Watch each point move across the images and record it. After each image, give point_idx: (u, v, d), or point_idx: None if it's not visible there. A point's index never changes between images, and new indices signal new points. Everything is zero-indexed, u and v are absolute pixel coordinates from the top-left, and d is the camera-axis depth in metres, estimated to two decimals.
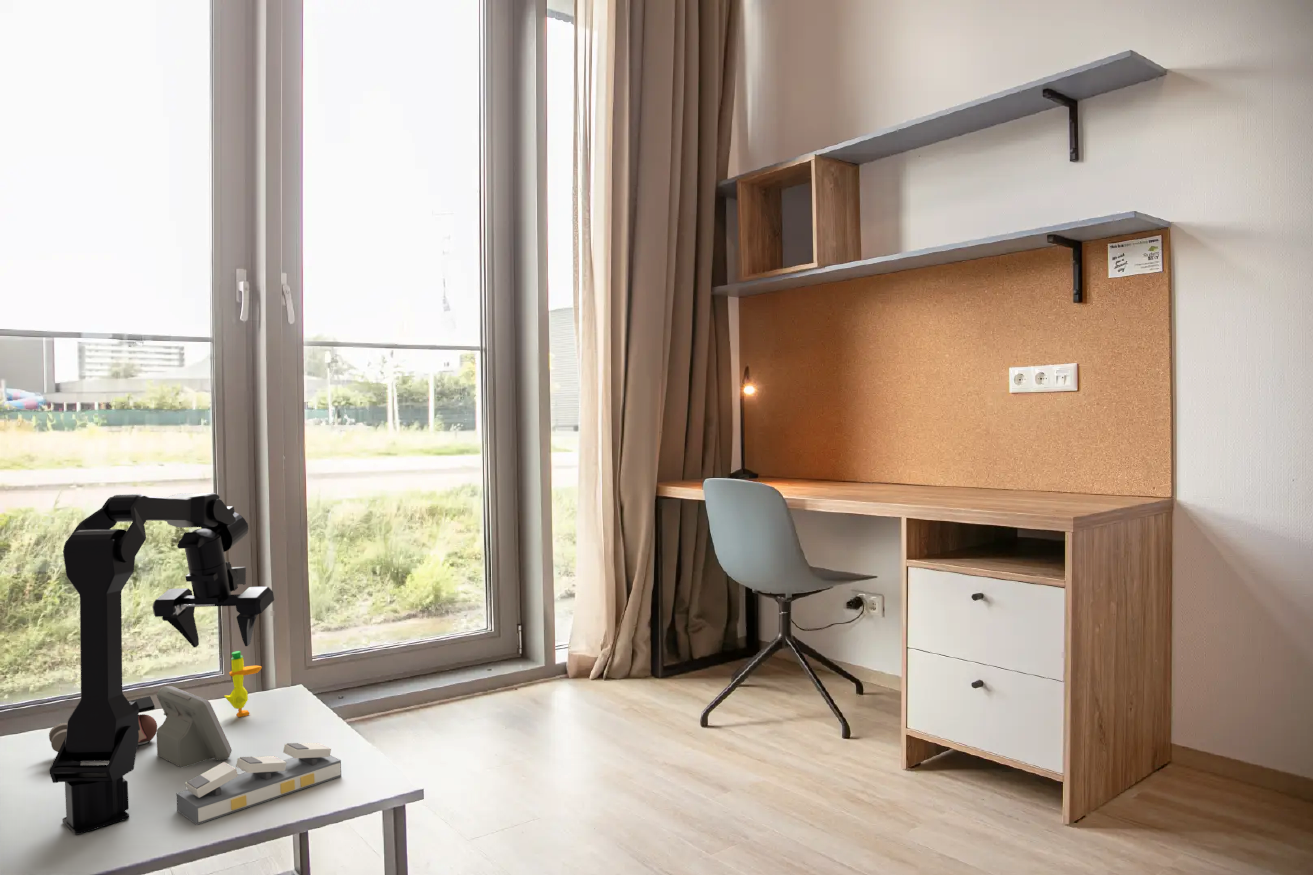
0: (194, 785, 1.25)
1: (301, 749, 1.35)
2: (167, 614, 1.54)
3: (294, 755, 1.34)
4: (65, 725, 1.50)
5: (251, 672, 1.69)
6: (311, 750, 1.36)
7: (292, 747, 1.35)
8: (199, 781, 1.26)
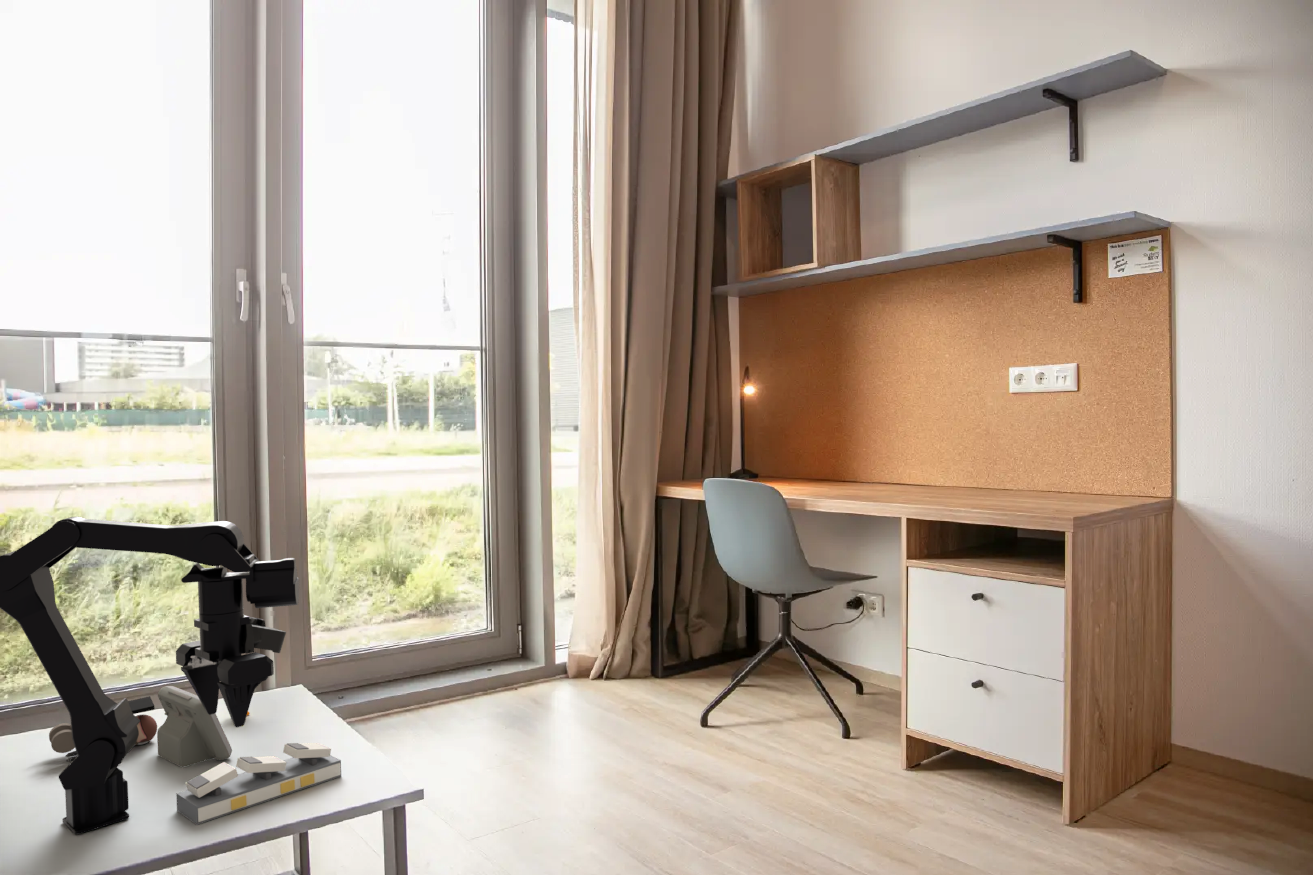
0: (194, 785, 1.25)
1: (301, 749, 1.35)
2: (182, 663, 1.31)
3: (294, 755, 1.34)
4: (65, 725, 1.50)
5: None
6: (311, 750, 1.36)
7: (292, 747, 1.35)
8: (199, 781, 1.26)
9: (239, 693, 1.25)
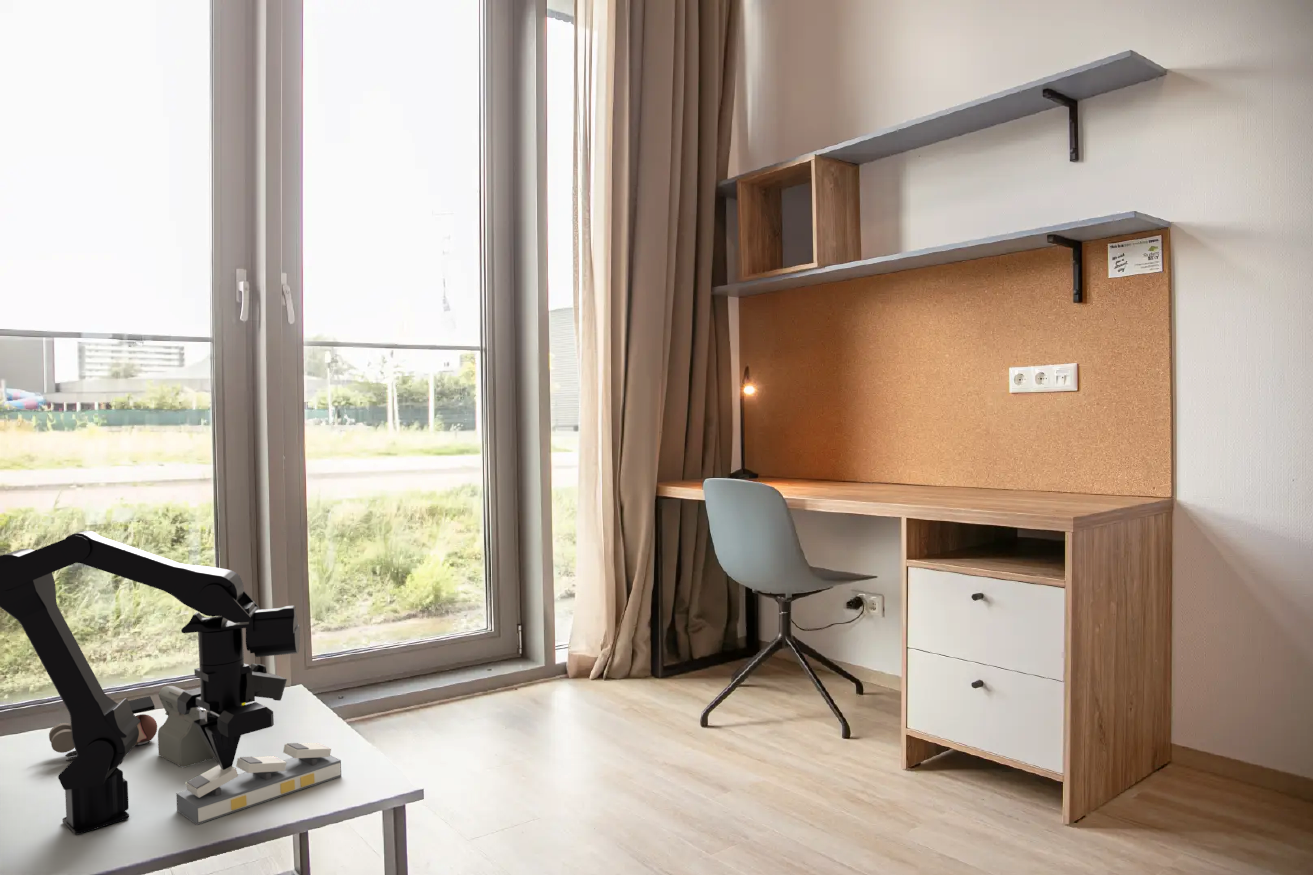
0: (194, 785, 1.25)
1: (301, 749, 1.35)
2: (183, 711, 1.31)
3: (294, 755, 1.34)
4: (65, 725, 1.50)
5: None
6: (311, 750, 1.36)
7: (292, 747, 1.35)
8: (199, 781, 1.26)
9: (226, 737, 1.27)
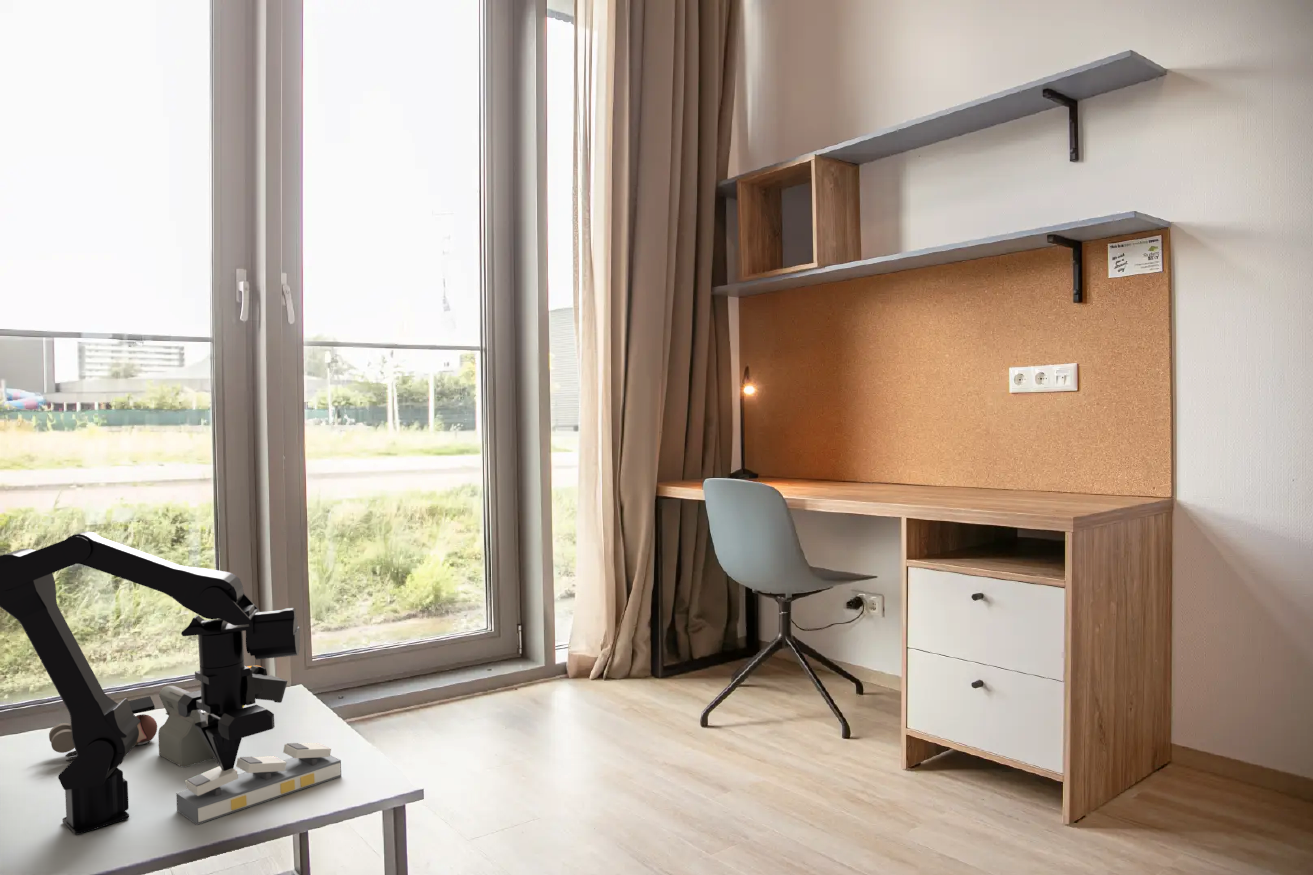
0: (194, 783, 1.25)
1: (301, 749, 1.35)
2: (184, 714, 1.31)
3: (294, 755, 1.34)
4: (65, 725, 1.50)
5: None
6: (311, 750, 1.36)
7: (292, 747, 1.35)
8: (199, 779, 1.26)
9: (227, 739, 1.27)
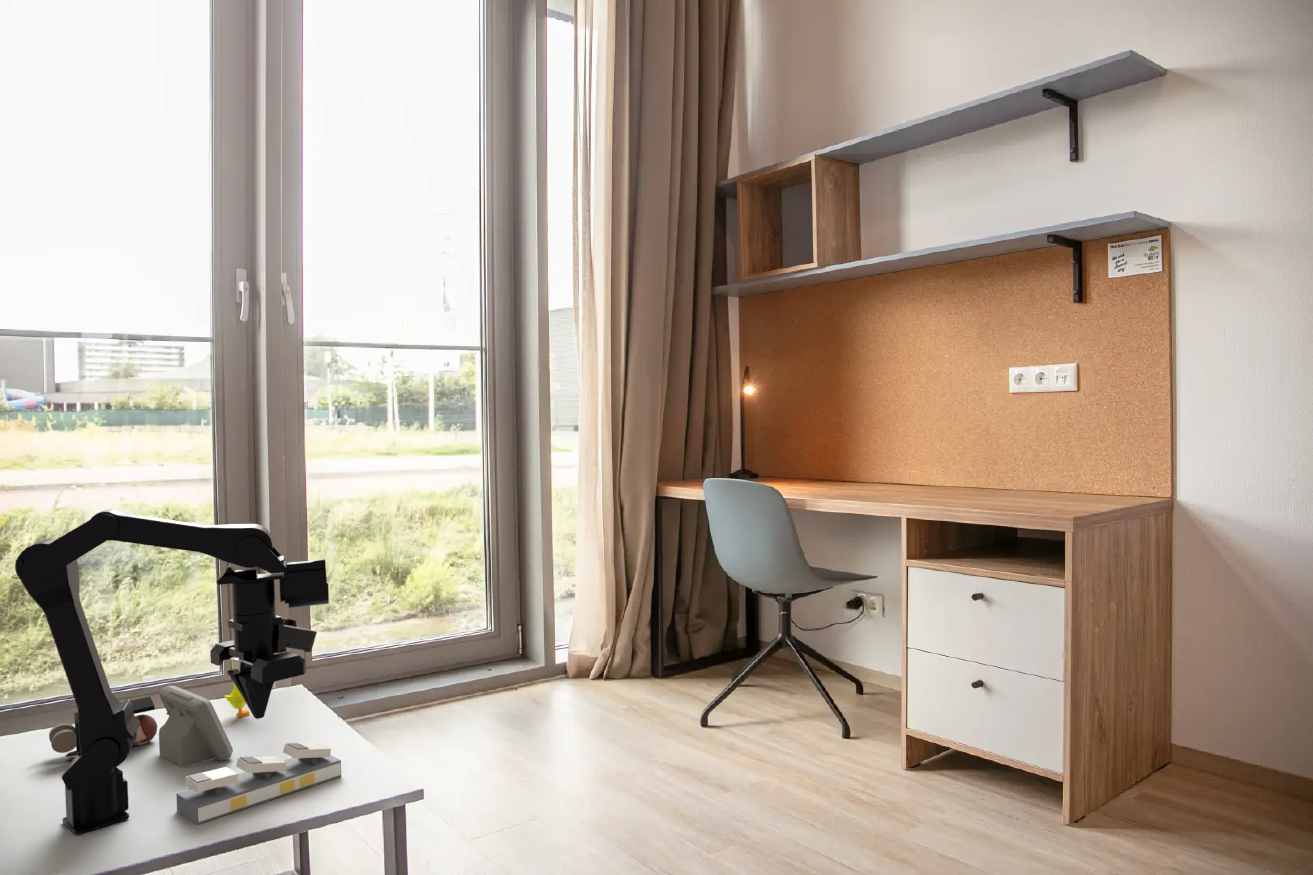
0: (195, 779, 1.25)
1: (301, 749, 1.35)
2: (216, 662, 1.34)
3: (294, 755, 1.34)
4: (65, 725, 1.50)
5: None
6: (311, 750, 1.36)
7: (292, 747, 1.35)
8: (200, 777, 1.26)
9: (259, 686, 1.31)
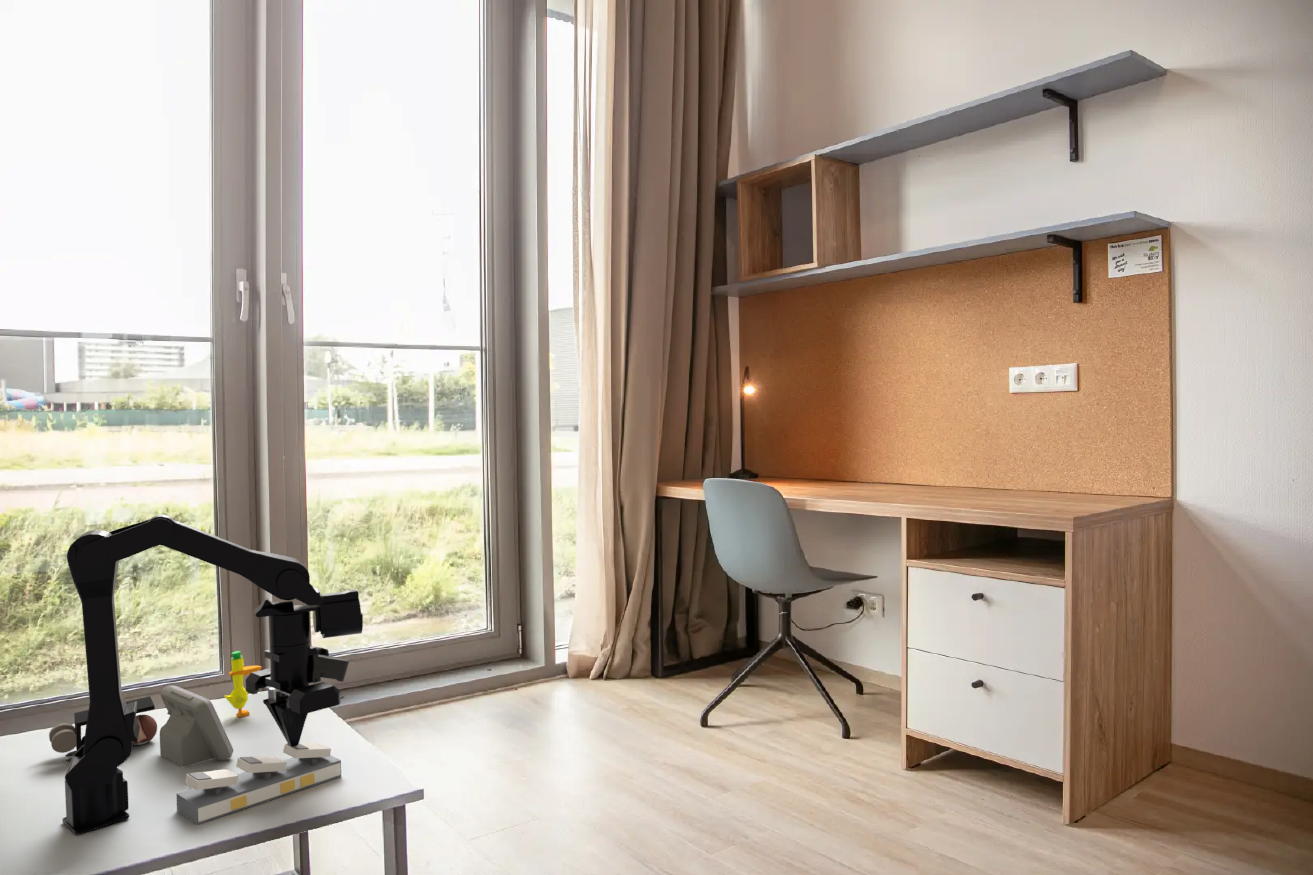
0: (195, 777, 1.25)
1: (301, 749, 1.35)
2: (252, 691, 1.38)
3: (294, 755, 1.34)
4: (65, 725, 1.50)
5: None
6: (311, 750, 1.36)
7: (292, 747, 1.35)
8: (201, 775, 1.26)
9: (294, 715, 1.35)
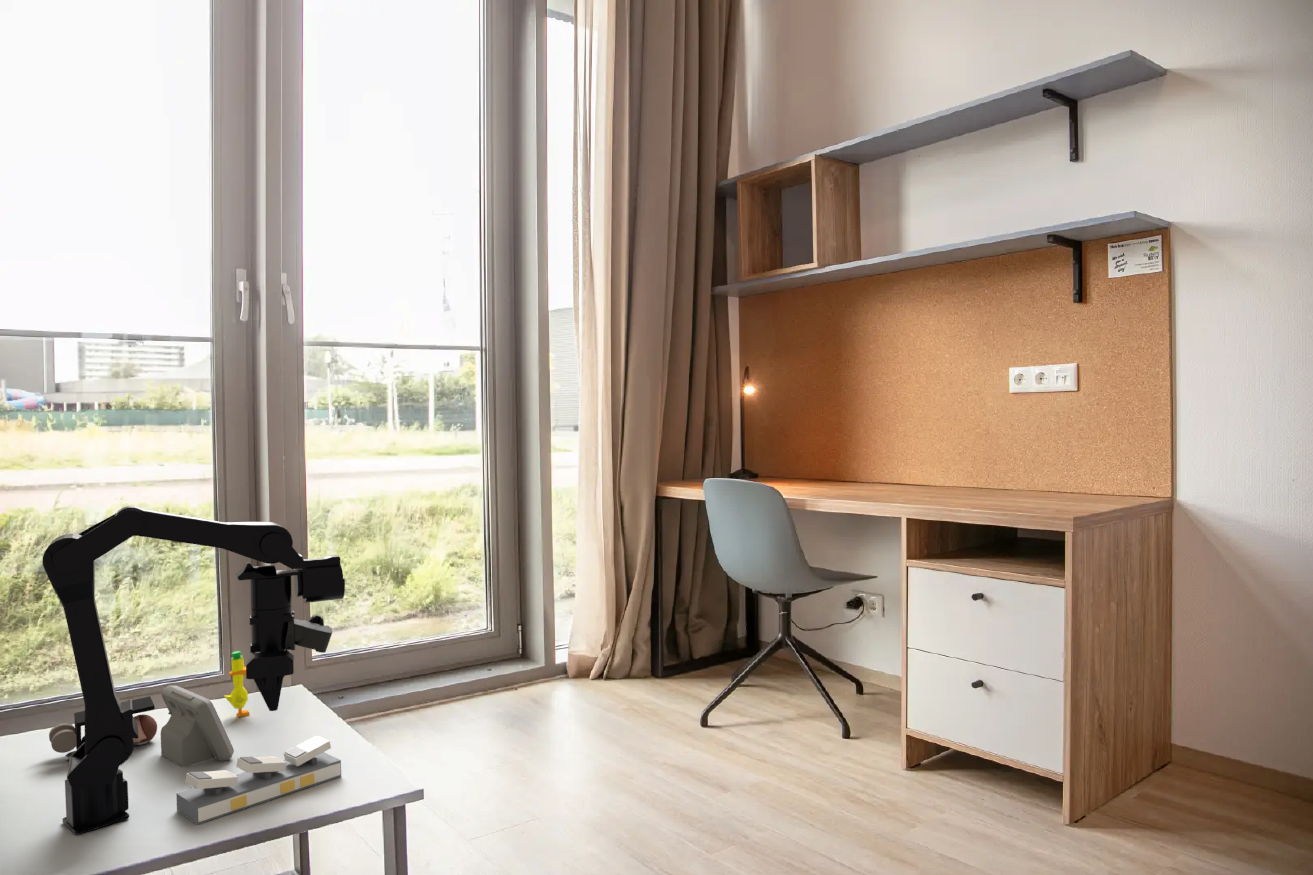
0: (196, 776, 1.25)
1: (299, 756, 1.35)
2: None
3: (295, 763, 1.34)
4: (65, 725, 1.50)
5: None
6: (310, 752, 1.36)
7: (290, 756, 1.35)
8: (201, 775, 1.26)
9: (270, 680, 1.34)
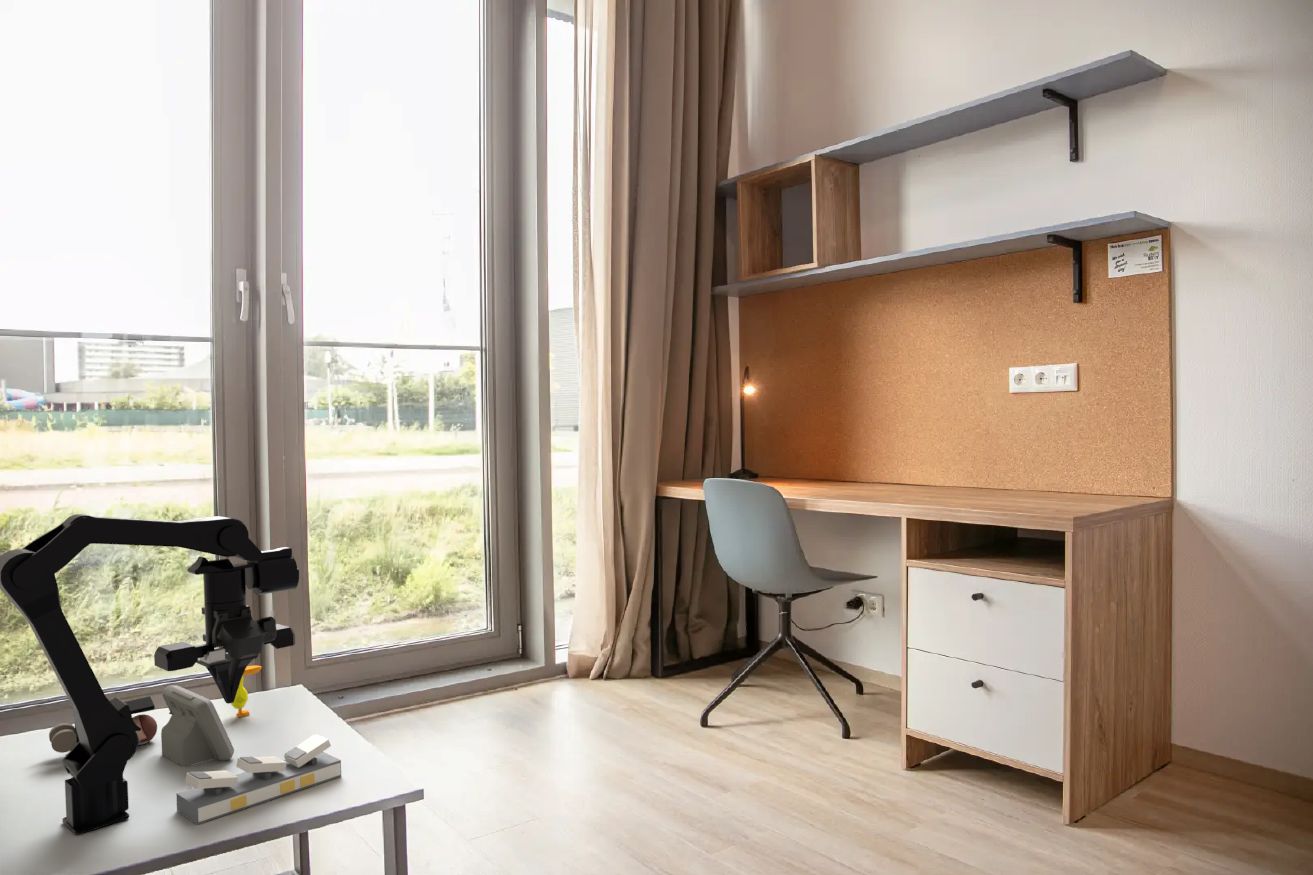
0: (196, 776, 1.25)
1: (299, 757, 1.35)
2: None
3: (296, 765, 1.35)
4: (65, 725, 1.50)
5: (251, 672, 1.69)
6: (310, 752, 1.36)
7: (291, 758, 1.35)
8: (201, 775, 1.26)
9: None
